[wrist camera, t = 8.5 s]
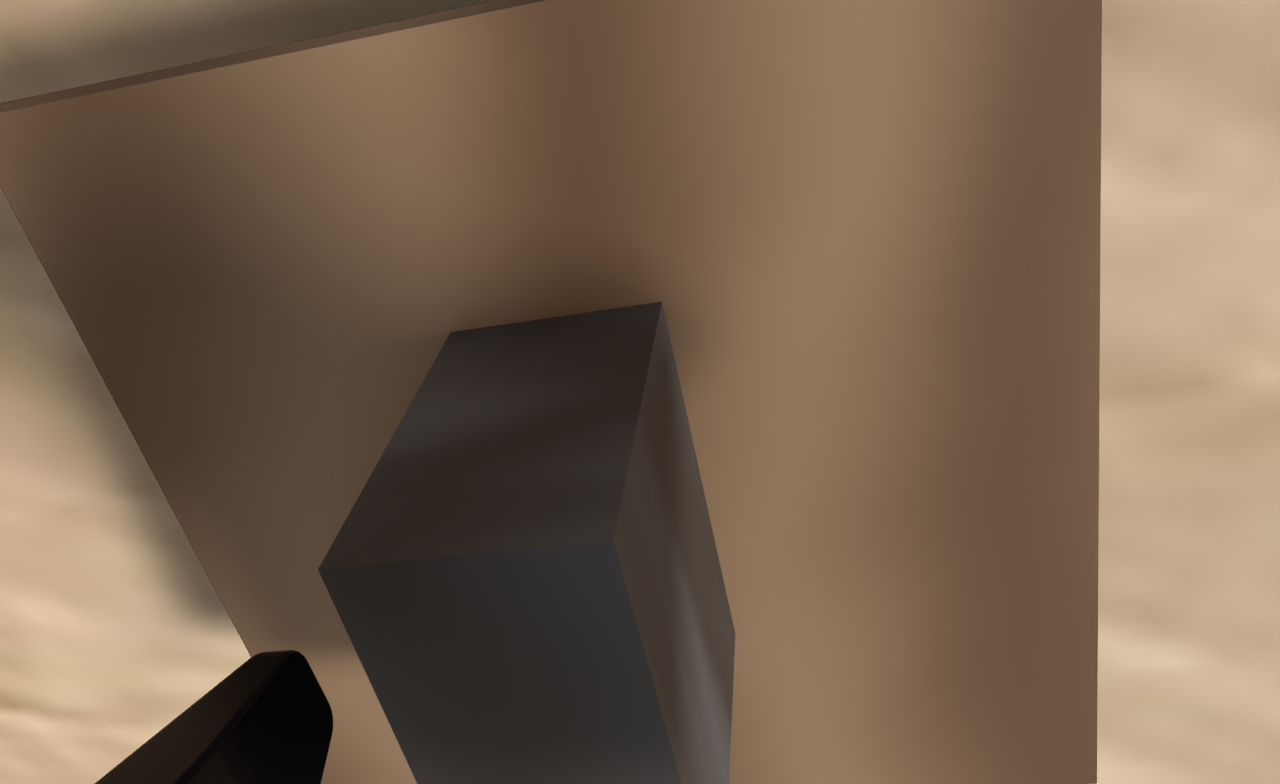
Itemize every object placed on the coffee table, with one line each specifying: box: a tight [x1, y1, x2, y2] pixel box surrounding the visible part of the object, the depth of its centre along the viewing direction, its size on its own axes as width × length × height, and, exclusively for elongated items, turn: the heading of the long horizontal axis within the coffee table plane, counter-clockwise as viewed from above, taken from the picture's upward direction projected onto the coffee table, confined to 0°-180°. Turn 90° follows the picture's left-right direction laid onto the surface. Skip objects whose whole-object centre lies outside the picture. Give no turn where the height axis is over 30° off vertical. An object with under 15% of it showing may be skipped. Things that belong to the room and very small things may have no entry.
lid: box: [0, 0, 1102, 784], centre depth 14 cm, size 14×14×6 cm
